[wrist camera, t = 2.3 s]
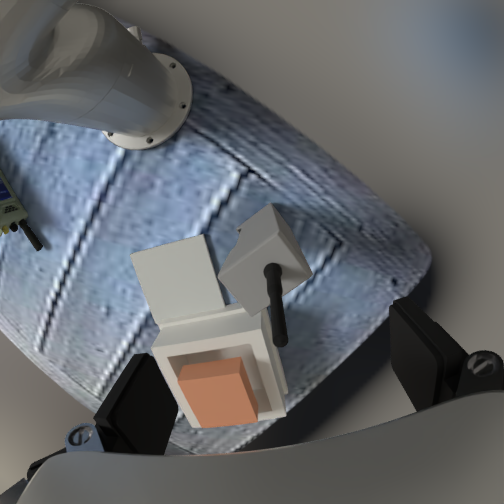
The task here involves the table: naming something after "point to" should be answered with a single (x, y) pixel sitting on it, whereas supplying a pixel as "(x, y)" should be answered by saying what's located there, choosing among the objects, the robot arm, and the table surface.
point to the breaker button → (219, 393)
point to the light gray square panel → (178, 278)
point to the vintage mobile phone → (265, 268)
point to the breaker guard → (224, 353)
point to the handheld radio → (14, 213)
